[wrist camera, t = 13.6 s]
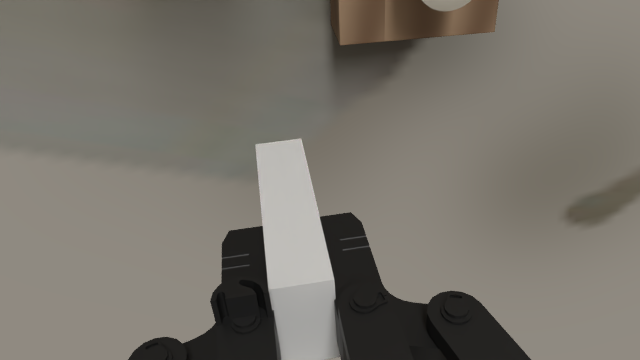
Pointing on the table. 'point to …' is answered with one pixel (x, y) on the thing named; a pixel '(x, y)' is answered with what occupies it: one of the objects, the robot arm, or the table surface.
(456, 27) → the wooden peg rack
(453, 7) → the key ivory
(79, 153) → the table surface
